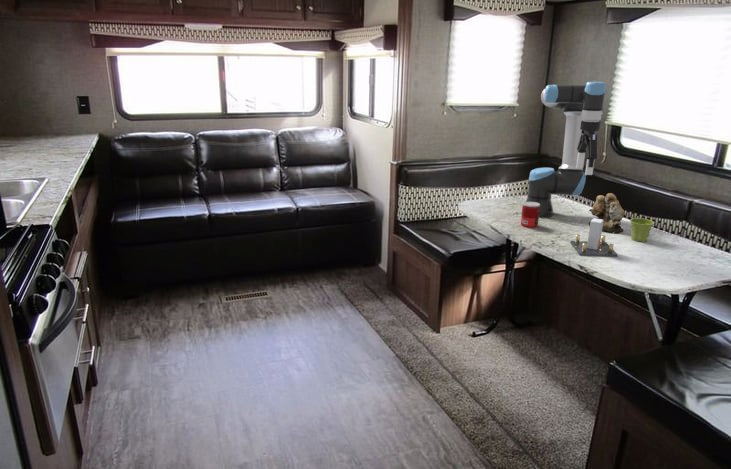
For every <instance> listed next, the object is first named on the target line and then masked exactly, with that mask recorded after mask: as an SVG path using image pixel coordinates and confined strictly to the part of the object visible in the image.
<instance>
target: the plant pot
mask: <svg viewBox="0 0 731 469" xmlns="http://www.w3.org/2000/svg"><path fill="white" fill-rule="evenodd" d="M629 222H630V225H631V241H635V242H641V243H644V242H647V240H648V237H649V235H650V232H651V229H652V227H653V225H654V224H655V222H654V221H653V220H650V219H647V218H637V217H635V218H631V219H630V220H629Z"/></svg>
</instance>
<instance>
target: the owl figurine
mask: <svg viewBox="0 0 731 469" xmlns="http://www.w3.org/2000/svg"><path fill="white" fill-rule="evenodd" d="M588 211H589V212H590V213H591V215H592V216H594V217H596V219H603V220H604V221H603V227H602V232H603V233H606V234H607V233H608V234H622V233H624V229H623V227H622V226H621V224H622V221H623V218H624V216H625V210H624V209H623V208H622V206H621V204H620V201H619V200H618V199H617V196H616V195H615V194H614V193H612V192H610V193H609V192H608V193H607V194H606V195H605V196H604V195H597V196H596V198H595V202H594V204H593V205H592V208H590V209H589V210H588ZM591 221H592V220H590V221H589V222H588V226H589V227H590V223H591Z"/></svg>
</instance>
